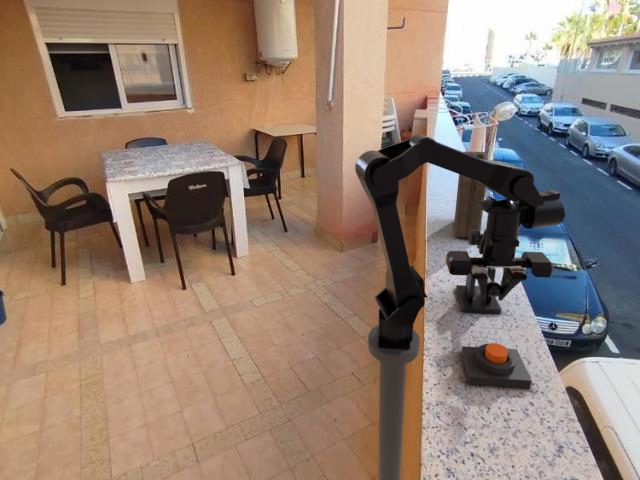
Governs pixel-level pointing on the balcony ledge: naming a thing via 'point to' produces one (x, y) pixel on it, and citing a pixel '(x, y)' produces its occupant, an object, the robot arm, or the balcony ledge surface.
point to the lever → (493, 287)
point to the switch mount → (477, 296)
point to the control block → (495, 369)
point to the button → (496, 353)
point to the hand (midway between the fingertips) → (491, 299)
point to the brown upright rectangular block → (469, 203)
